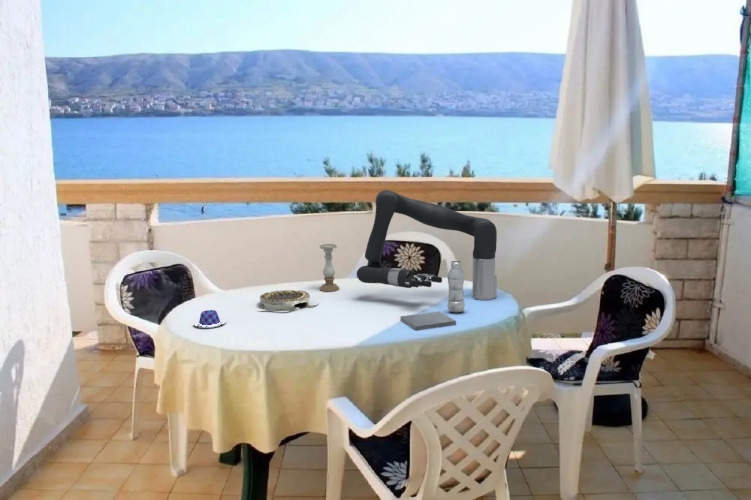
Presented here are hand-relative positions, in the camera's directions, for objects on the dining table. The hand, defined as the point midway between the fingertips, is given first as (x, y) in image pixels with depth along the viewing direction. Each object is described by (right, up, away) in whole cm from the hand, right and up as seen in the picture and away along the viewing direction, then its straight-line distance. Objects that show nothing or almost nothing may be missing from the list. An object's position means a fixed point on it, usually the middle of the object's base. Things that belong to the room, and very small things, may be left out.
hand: (436, 282), depth 255 cm
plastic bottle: (+7, -12, -3) cm, 14 cm away
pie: (-61, -11, +15) cm, 64 cm away
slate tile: (-5, -14, -16) cm, 22 cm away
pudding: (-86, -16, -12) cm, 88 cm away
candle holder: (-45, -5, +38) cm, 59 cm away
